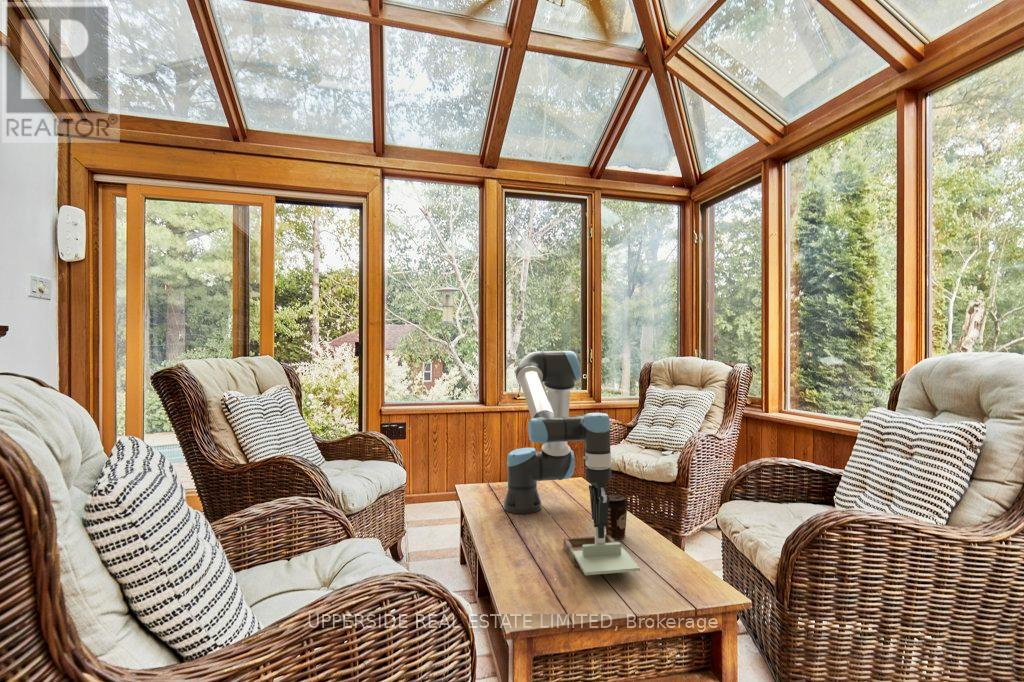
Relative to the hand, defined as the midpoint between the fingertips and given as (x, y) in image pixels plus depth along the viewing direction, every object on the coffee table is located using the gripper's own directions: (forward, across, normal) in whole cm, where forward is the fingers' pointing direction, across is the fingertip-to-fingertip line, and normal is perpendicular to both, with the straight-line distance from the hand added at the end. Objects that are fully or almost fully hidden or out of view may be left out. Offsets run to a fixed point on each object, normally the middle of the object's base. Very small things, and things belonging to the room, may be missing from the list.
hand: (600, 547), depth 146 cm
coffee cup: (+6, -22, +12) cm, 26 cm away
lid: (+2, +5, 0) cm, 5 cm away
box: (+6, -8, 0) cm, 10 cm away
